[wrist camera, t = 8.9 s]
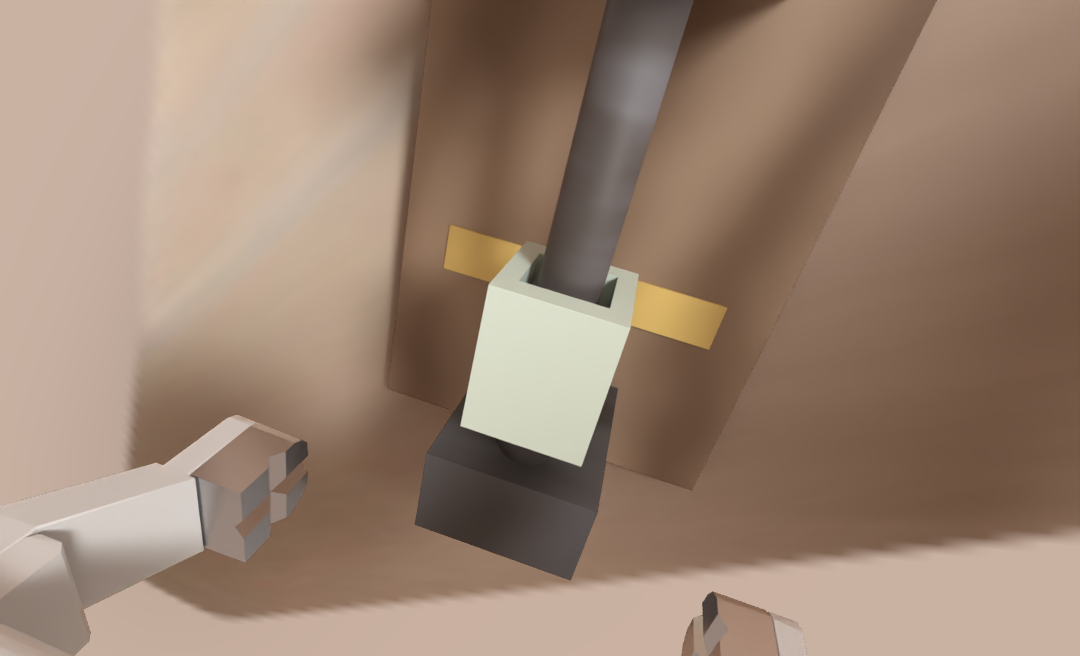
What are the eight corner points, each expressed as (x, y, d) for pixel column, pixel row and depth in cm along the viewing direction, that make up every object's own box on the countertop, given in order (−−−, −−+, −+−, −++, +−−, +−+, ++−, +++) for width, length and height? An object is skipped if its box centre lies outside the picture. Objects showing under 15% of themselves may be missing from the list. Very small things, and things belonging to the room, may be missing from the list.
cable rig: (960, -79, 16) (1414, -325, 6) (690, 474, 27) (703, 701, 17) (467, -187, 17) (213, -524, 8) (398, 376, 28) (255, 534, 18)
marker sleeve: (638, 273, 18) (630, 328, 14) (598, 392, 20) (581, 466, 16) (527, 240, 18) (488, 284, 14) (500, 360, 20) (460, 425, 17)
